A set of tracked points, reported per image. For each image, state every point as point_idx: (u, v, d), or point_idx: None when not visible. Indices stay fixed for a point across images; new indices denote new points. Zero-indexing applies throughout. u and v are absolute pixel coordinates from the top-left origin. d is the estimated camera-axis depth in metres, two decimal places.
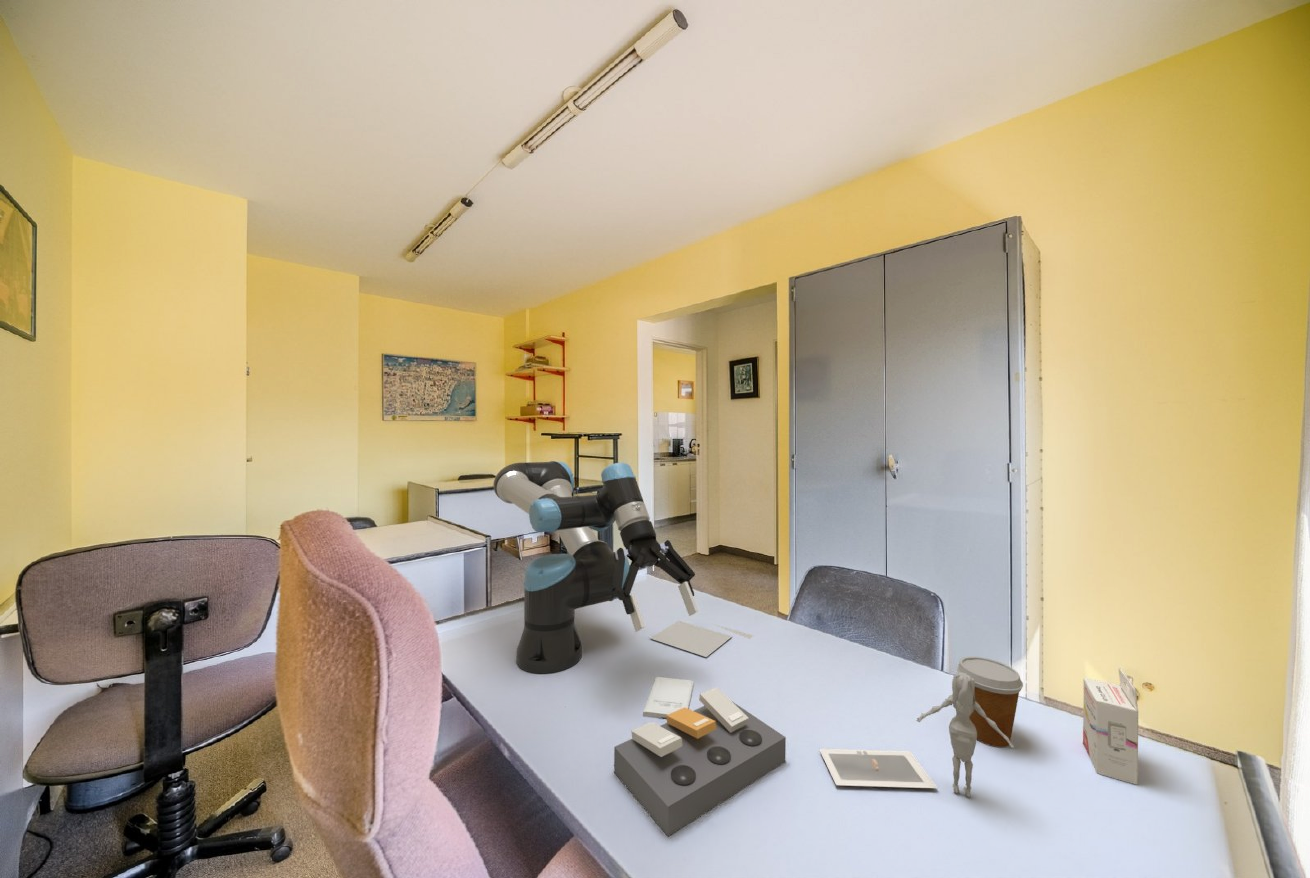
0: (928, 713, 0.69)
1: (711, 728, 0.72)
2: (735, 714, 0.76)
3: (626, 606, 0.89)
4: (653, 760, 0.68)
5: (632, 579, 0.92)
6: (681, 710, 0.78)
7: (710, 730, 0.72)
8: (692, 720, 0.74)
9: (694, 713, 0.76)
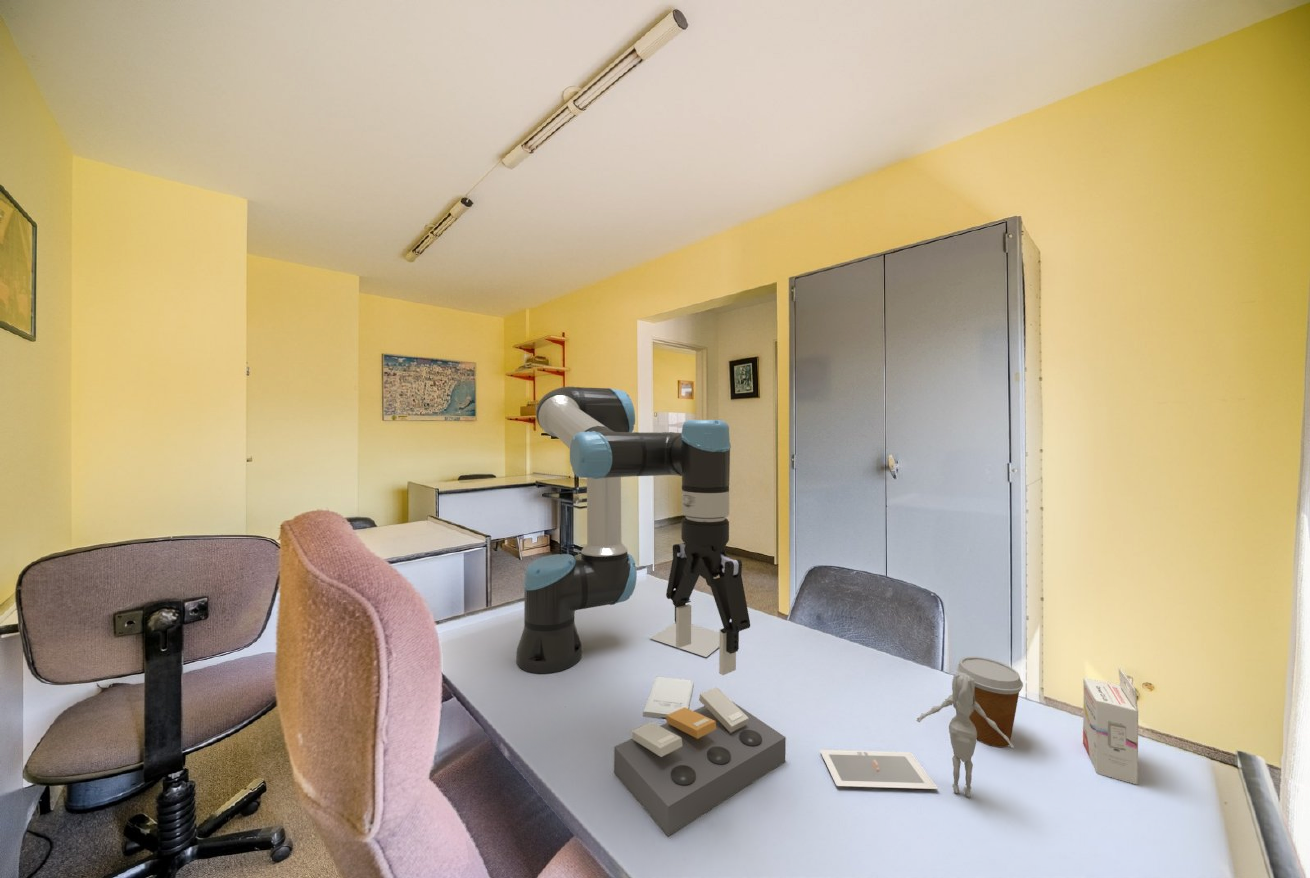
0: (928, 713, 0.69)
1: (711, 728, 0.72)
2: (735, 714, 0.76)
3: None
4: (653, 760, 0.68)
5: (680, 589, 0.75)
6: (681, 710, 0.78)
7: (710, 730, 0.72)
8: (692, 720, 0.74)
9: (694, 713, 0.76)
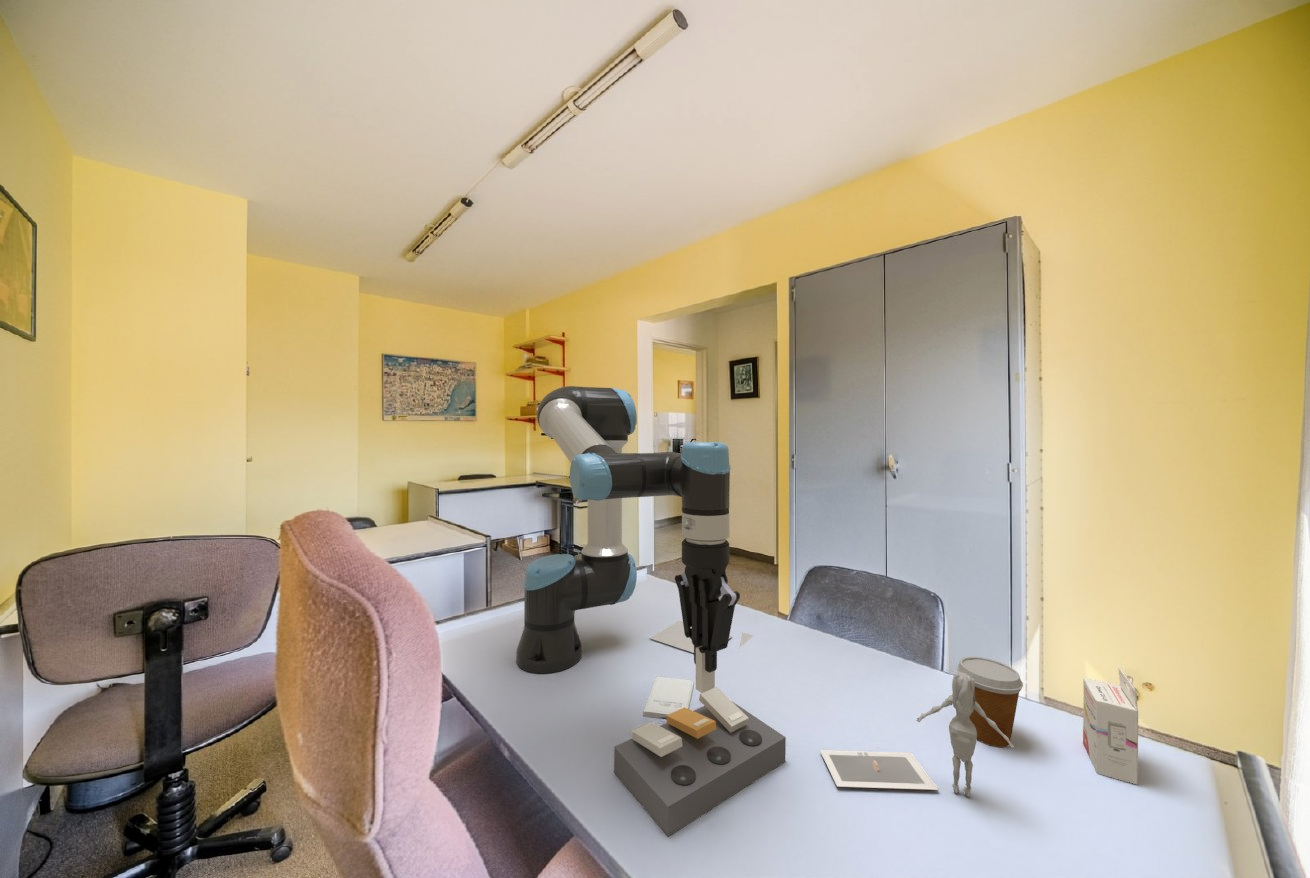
0: (928, 713, 0.69)
1: (711, 728, 0.72)
2: (735, 714, 0.76)
3: None
4: (653, 760, 0.68)
5: (694, 623, 0.72)
6: (681, 710, 0.78)
7: (710, 730, 0.72)
8: (692, 720, 0.74)
9: (694, 713, 0.76)
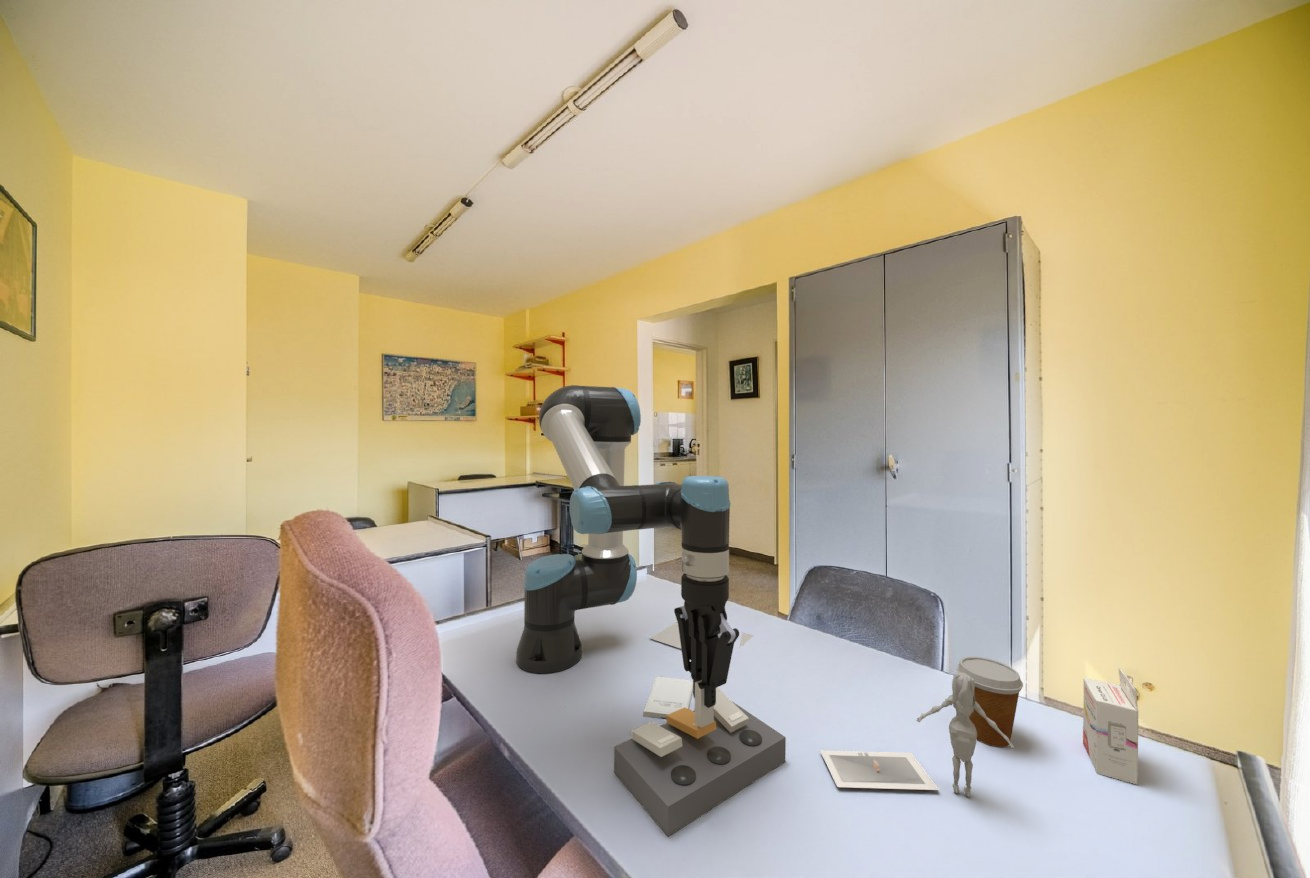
0: (928, 713, 0.69)
1: (711, 728, 0.72)
2: (735, 714, 0.76)
3: None
4: (653, 760, 0.68)
5: (693, 657, 0.72)
6: (681, 710, 0.78)
7: (710, 730, 0.72)
8: (692, 720, 0.74)
9: (694, 713, 0.76)
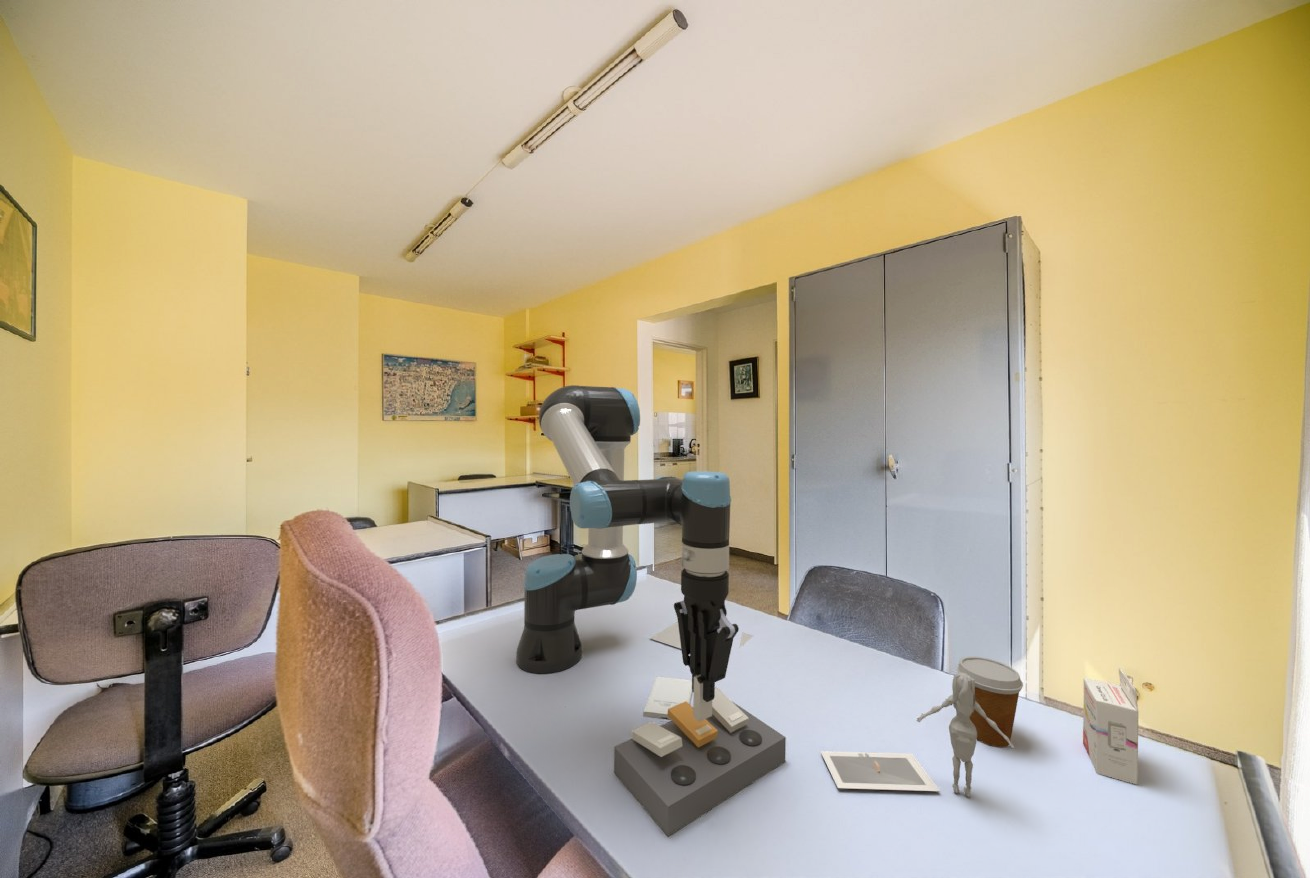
0: (928, 713, 0.69)
1: (713, 737, 0.72)
2: (735, 714, 0.76)
3: None
4: (653, 760, 0.68)
5: (692, 652, 0.72)
6: (683, 705, 0.78)
7: (711, 739, 0.72)
8: (694, 724, 0.73)
9: None
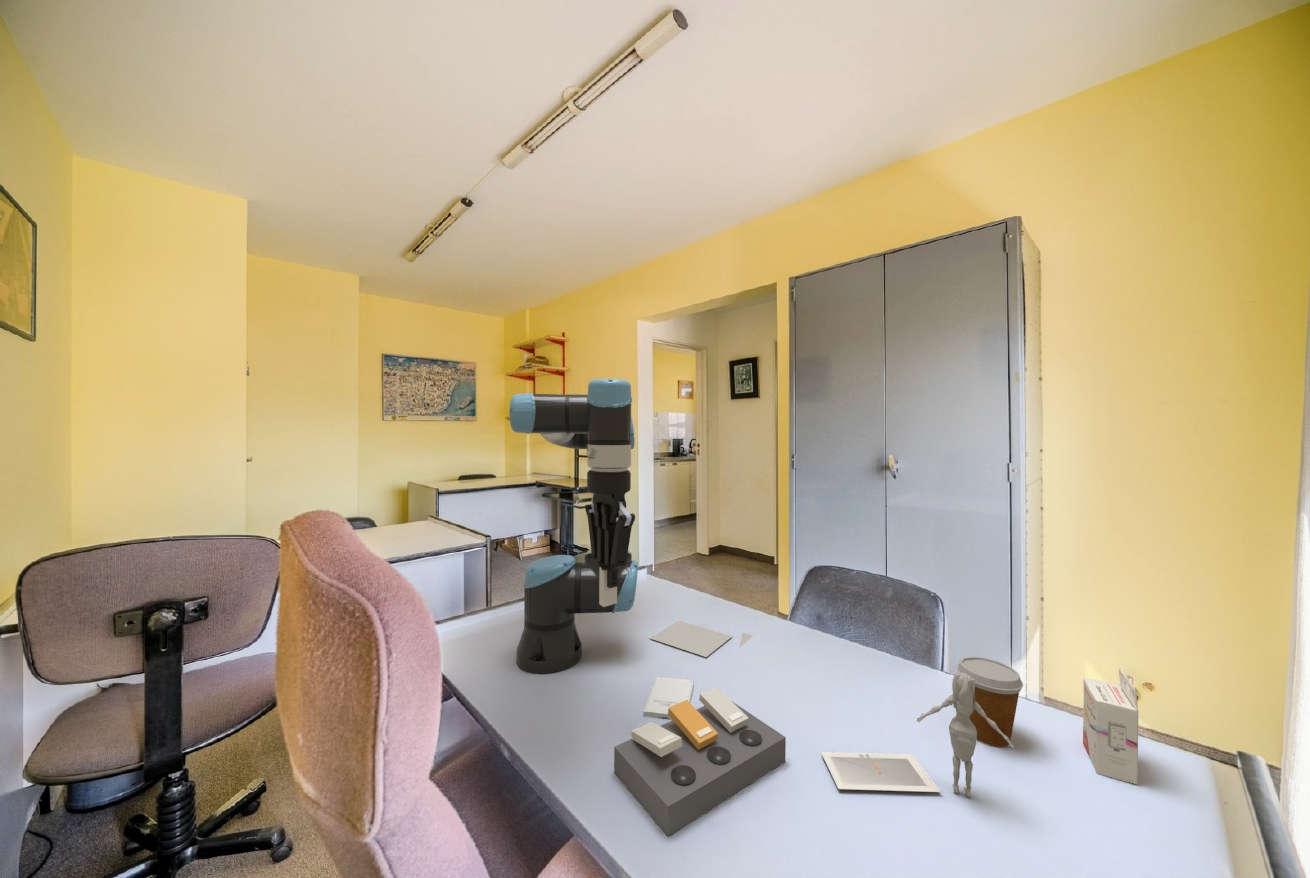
0: (928, 713, 0.69)
1: (713, 739, 0.72)
2: (735, 714, 0.76)
3: None
4: (653, 760, 0.68)
5: (598, 545, 0.79)
6: (684, 704, 0.77)
7: (711, 741, 0.72)
8: (695, 725, 0.73)
9: (697, 713, 0.76)
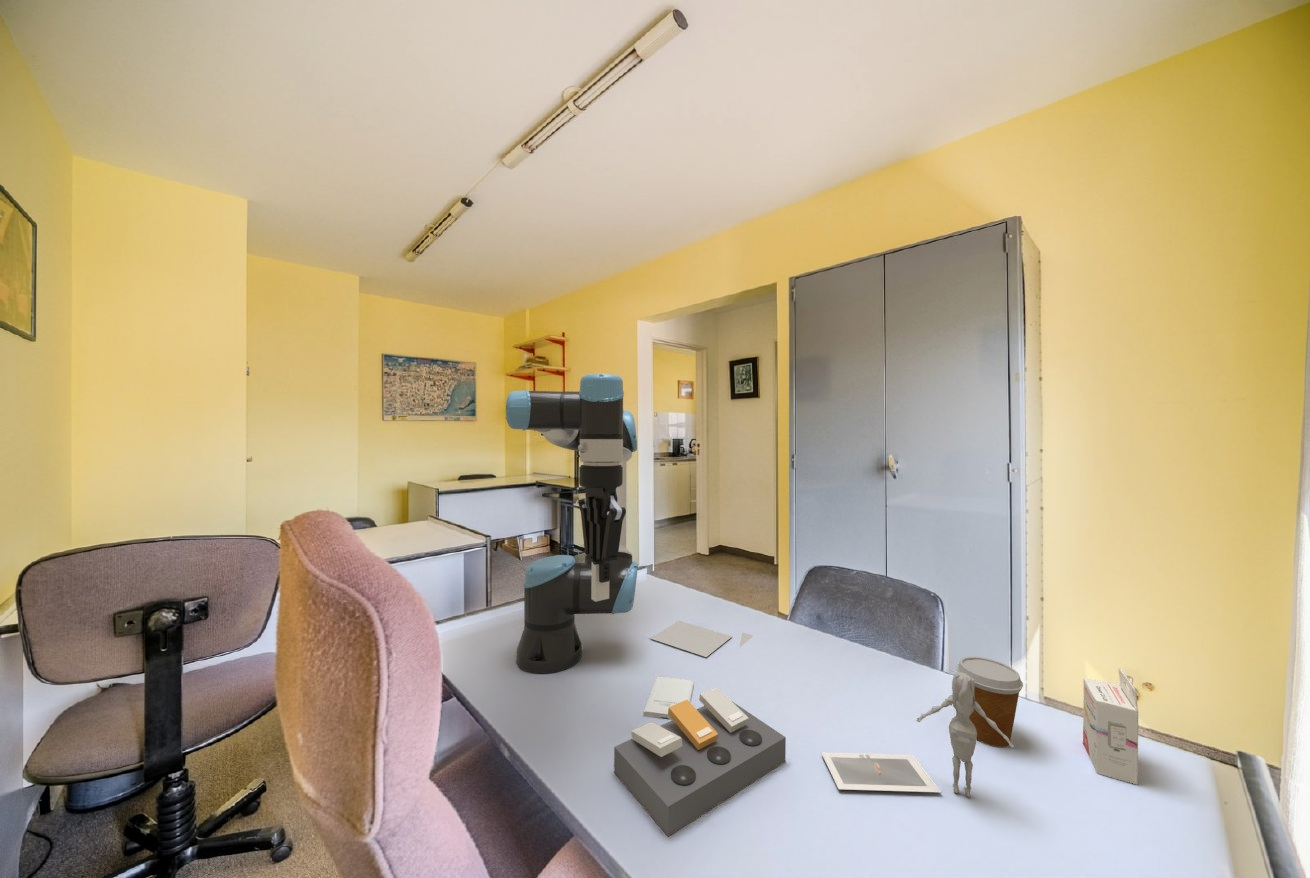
0: (927, 713, 0.69)
1: (713, 739, 0.72)
2: (735, 714, 0.76)
3: None
4: (653, 760, 0.68)
5: (591, 540, 0.79)
6: (684, 704, 0.77)
7: (711, 742, 0.72)
8: (695, 726, 0.73)
9: (697, 713, 0.76)
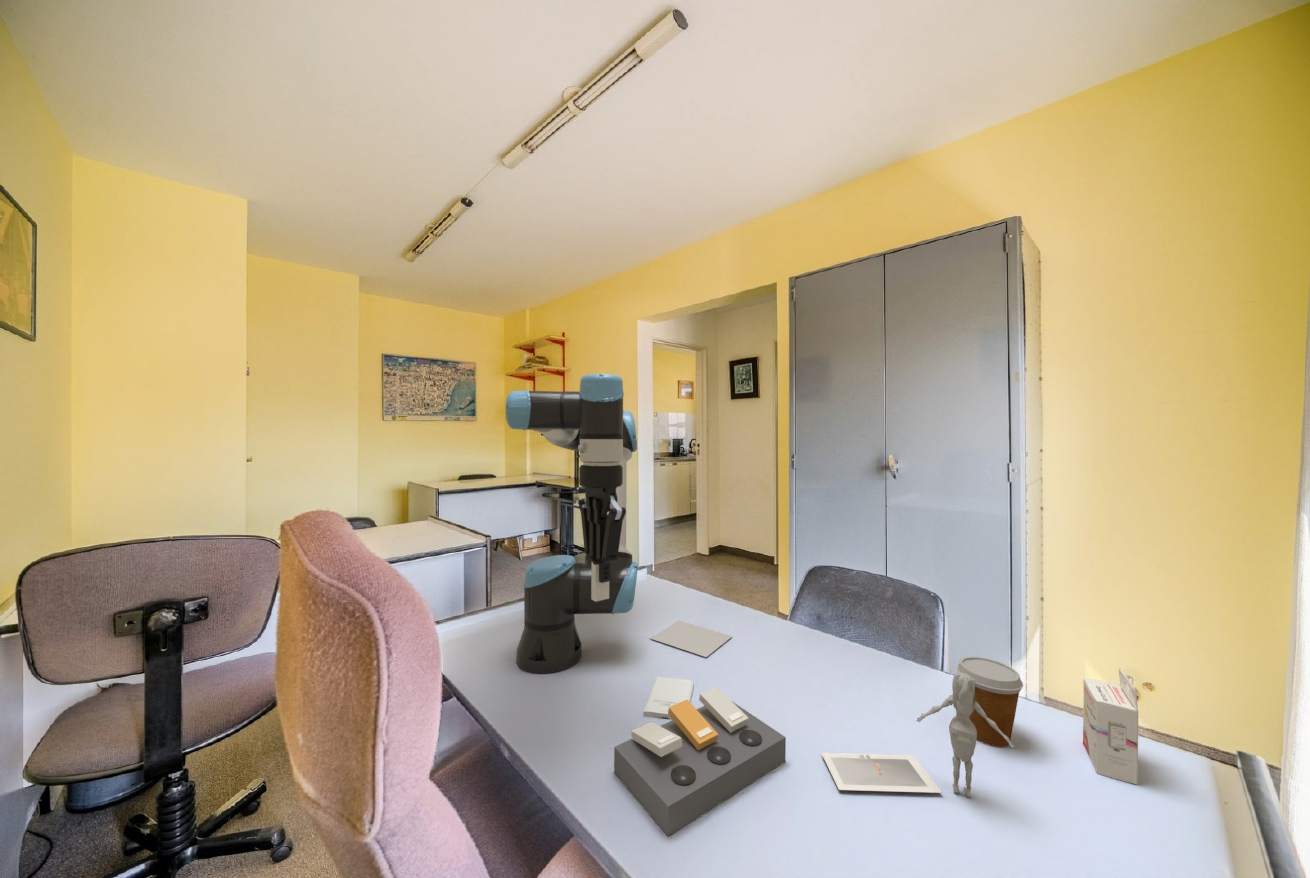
0: (928, 713, 0.69)
1: (713, 740, 0.72)
2: (735, 714, 0.76)
3: None
4: (653, 760, 0.68)
5: (591, 540, 0.79)
6: (684, 704, 0.77)
7: (711, 742, 0.72)
8: (695, 726, 0.73)
9: (697, 713, 0.76)
